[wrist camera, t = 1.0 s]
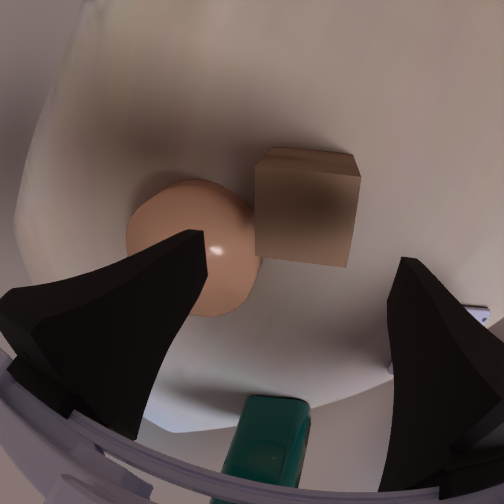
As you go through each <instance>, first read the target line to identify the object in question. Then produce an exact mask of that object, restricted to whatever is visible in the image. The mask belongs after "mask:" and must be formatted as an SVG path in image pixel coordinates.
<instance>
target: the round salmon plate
mask: <svg viewBox="0 0 504 504" xmlns="http://www.w3.org/2000/svg"><path fill="white" fill-rule="evenodd" d="M187 229H194V230H203V231H204V240H205V250H206V260H207V269H208V277H207V280H206V282H205V285H204V287H203V289H202V292H201V294H200V296H199V298H198V300H197V301H196V303H195V305H194V306H193V308H192V310H191V311H190V313H189V314H192V315H197V316H206V317H210V316H219V315H223V314H227V313H229V312H231V311H233V310H235V309H236V308H238V307H239V306H240V305H241V304H242V303H243V302H244V301H245V300H246V298H247V297H248V295H249V293H250V291H251V289H252V286H253V284H254V281H255V279H256V276H257V274H258V271H259V269H260V267H261V264H262V261H263V257H260V256H255V215H254V213H253V212H252V210H251V209H250V208H249V207H248V205H247V204H246V203H245V202H244V201H243V200H242V199H241V198H240V197H238V196H237V195H236V194H235V193H233V192H232V191H230V190H229V189H227V188H225V187H223V186H221V185H219V184H216V183H213V182H209V181H205V180H197V179H192V180H183V181H179V182H176V183H173V184H172V185H170V186H168V187H166V188H165V189H163V190H162V191H161V192H159V193H158V194H156V195H155V196H153V197H152V198H151V199H149V200H148V201H146V202H145V203H144V204H142V205H141V206H140V207H139V208H138V209H137V210H136V211H135V212H134V214H133V215H132V217H131V219H130V221H129V224H128V227H127V231H126V247H127V252H128V256H131V255H134V254H136V253H138V252H140V251H142V250H144V249H146V248H148V247H150V246H152V245H154V244H156V243H158V242H160V241H162V240H165V239H167V238H169V237H171V236H173V235H175V234H177V233H179V232H182V231H184V230H187Z"/></svg>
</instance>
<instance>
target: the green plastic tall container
mask: <svg viewBox="0 0 504 504" xmlns="http://www.w3.org/2000/svg"><path fill="white" fill-rule="evenodd" d="M310 427H311V410H310V406H309V405H308V404H307V403H305V402H303V401H301V400H297V399H287V398H275V397H265V396H251V397H249V398H247V399H246V401H245V404H244V407H243V410H242V413H241V416H240V419H239V422H238V425H237V428H236V430H235V434H234V436H233V439H232V442H231V445H230V448H229V451H228V454H227V456H226V459H225V462H224V465H223V468H222V470H221V473H222V474H226V475H230V476H234V477H238V478H242V479H247V480H251V481H256V482H261V483H266V484H272V485H278V486H284V487H291V488H298V486H299V482H300V477H301V473H302V468H303V463H304V459H305V453H306V448H307V444H308V438H309V433H310ZM209 504H236V503H232V502H228V501H225V500H221V499H217V498H214V497H211V500H210V503H209Z"/></svg>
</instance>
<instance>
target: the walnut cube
mask: <svg viewBox="0 0 504 504" xmlns="http://www.w3.org/2000/svg"><path fill="white" fill-rule="evenodd" d="M254 174H255V256H260V257H267V258H275V259H283V260H291V261H298V262H306V263H314V264H322V265H330V266H337V267H345V268H346V266H347V261H348V256H349V251H350V246H351V240H352V235H353V229H354V223H355V217H356V210H357V204H358V197H359V190H360V182H361V175H360V172H359V170H358V167H357V164H356V162H355V159H354V156H353V155H351V154H343V153H335V152H326V151H316V150H305V149H293V148H279V147H273V148H272V149H271V150H270V151H269V152H268V153H267V154H266V155H265V156H264V157H263V158H262V159H261V160H260V161H259V162H258V163H257V164H256V165H255V167H254Z"/></svg>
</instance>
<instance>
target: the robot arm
mask: <svg viewBox="0 0 504 504" xmlns="http://www.w3.org/2000/svg"><path fill="white" fill-rule="evenodd" d="M207 277H208V269H207V260H206V250H205V240H204V231H203V230H194V229H187V230H184V231H182V232H179V233H177V234H175V235H173V236H171V237H169V238H167V239H165V240H162V241H160V242H158V243H156V244H154V245H152V246H150V247H148V248H146V249H144V250H142V251H140V252H138V253H136V254H134V255H131V256H129V257H127V258H125V259H123V260H121V261H118V262H116V263H113V264H111V265H108V266H106V267H103V268H100V269H98V270H95V271H92V272H89V273H85V274H82V275H79V276H76V277H72V278H69V279H65V280H61V281H56V282H52V283H47V284H41V285H35V286H27V287H19V288H13V289H11V290H9V291H8V292H7V293H6V294H5V295H4V296H3V297H2V298H1V299H0V331H1V333H2V334H3V336H4V337H5V339H6V340H7V342H8V343H9V344H10V346H11V347H12V349H13V350H14V351H15V353H16V354H17V357H16V358H15V359H14V360H13V359H11V357H10V356H9V355H8V354H7V353H6V352H4V351H3V350H2V349H1V348H0V445H1V447H2V448H3V450H4V451H5V452H6V453H7V455H8V456H9V458H10V459H11V460H12V461H13V463H14V464H15V465H16V466H17V468H18V469H19V470H20V471H21V473H22V474H23V475H24V476H25V477H26V478H27V479H28V481H29V482H30V483H31V484H32V485H33V486H34V487H35V488H36V489H37V490H38V492H40V494H41V495H42V496H43V497H44V498H45V499H46V500H45V502H44V504H157V503H155V502H153V501H150V498H149V497H150V494H151V492H152V490H153V486H152V485H151V484H149V483H147V482H145V481H143V480H142V479H140V478H138V477H137V476H135V475H134V474H132V473H131V472H130V471H128V470H127V469H126V468H124V467H122V466H121V465H119V464H117V463H115V462H113V461H112V460H110V459H109V458H107V457H105V454H104V452H106V453H108V454H109V455H111V456H113V457H115V458H117V459H119V460H121V461H123V462H125V463H127V464H129V465H131V466H133V467H135V468H137V469H139V470H141V471H143V472H146V473H148V474H150V475H152V476H155V477H157V478H160V479H162V480H164V481H167V482H169V483H172V484H175V485H177V486H180V487H183V488H186V489H188V490H192V491H194V492H197V493H201V494H204V495H207V496H210V497H214V498H217V499H221V500H225V501H228V502H232V503H236V504H504V343H503V342H502V341H501V340H500V339H498V338H497V337H496V336H495V335H493V334H492V333H491V332H490V331H489V330H488V329H487V328H485V327H484V325H485V323H486V322H487V320H488V318H489V317H490V315H491V312H490V310H489V309H486V308H474V307H463V306H462V305H461V303H460V302H459V301H458V300H457V299H456V298H455V297H454V296H453V295H452V294H451V293H450V292H449V291H448V290H447V289H446V288H445V287H444V285H443V284H442V283H441V282H440V281H439V280H438V279H437V278H436V277H435V276H434V275H433V274H432V273H431V272H430V270H429V269H428V268H427V267H426V266H425V265H424V264H423V263H421V262H420V261H419V260H418V259H416V258H409V257H401V260H400V264H399V267H398V270H397V273H396V276H395V279H394V282H393V285H392V288H391V291H390V294H389V297H388V299H387V325H388V333H389V340H390V348H391V356H392V362H391V364H390V365H389V367H388V369H387V372H388V373H389V374H394V405H393V417H392V427H391V435H390V441H389V447H388V453H387V459H386V463H385V467H384V471H383V475H382V479H381V483H380V486H379V489H378V492H370V493H369V492H365V493H363V492H361V493H360V492H359V493H358V492H331V491H317V490H307V489H298V488H291V487H284V486H278V485H272V484H266V483H261V482H256V481H251V480H247V479H242V478H238V477H234V476H230V475H226V474H222V473H219V472H215V471H212V470H208V469H205V468H202V467H199V466H195V465H192V464H189V463H186V462H184V461H181V460H178V459H175V458H173V457H170V456H167V455H165V454H162V453H160V452H157V451H155V450H153V449H150V448H148V447H145V446H143V445H141V444H139V443H136V442H134V440H136V439H137V435H138V431H139V427H140V423H141V420H142V417H143V413H144V410H145V407H146V404H147V401H148V398H149V395H150V392H151V389H152V387H153V384H154V382H155V379H156V377H157V374H158V372H159V369H160V367H161V364H162V362H163V360H164V358H165V355H166V353H167V351H168V349H169V347H170V345H171V343H172V341H173V339H174V338H175V336H176V334H177V333H178V331H179V329H180V328H181V326H182V325H183V323H184V321H185V320H186V318H187V316H188V315H189V313H190V311H191V310H192V308H193V306H194V305H195V303H196V301H197V300H198V298H199V296H200V294H201V292H202V289H203V287H204V285H205V282H206V280H207ZM103 451H104V452H103Z"/></svg>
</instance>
